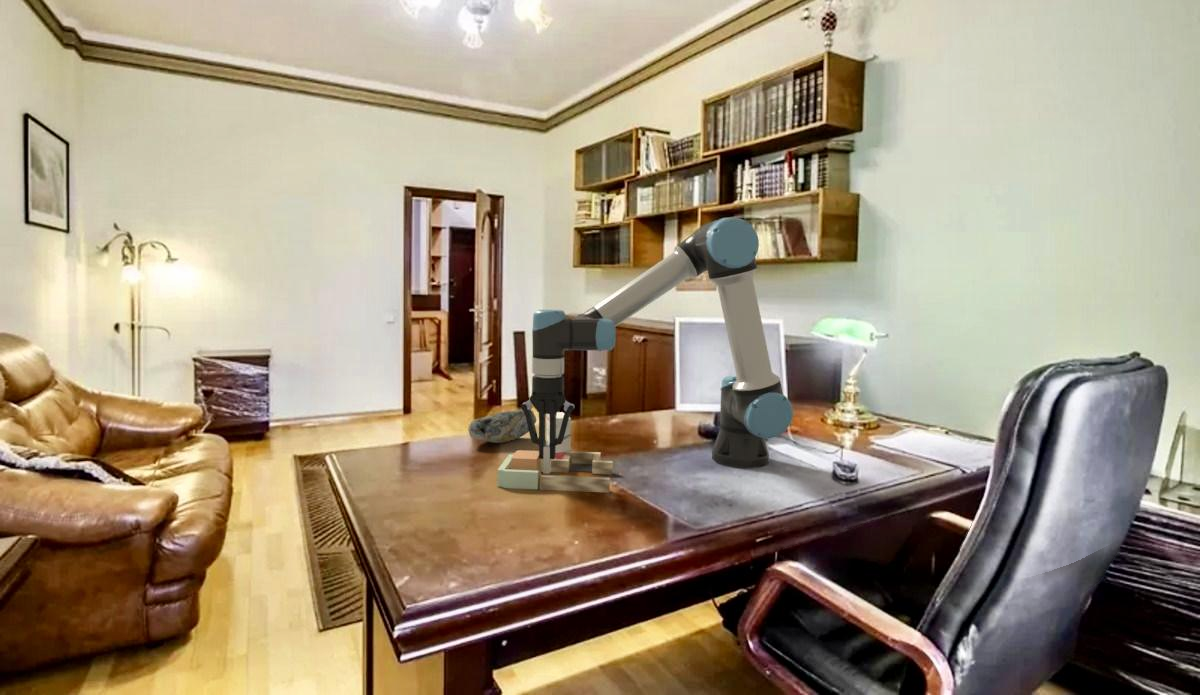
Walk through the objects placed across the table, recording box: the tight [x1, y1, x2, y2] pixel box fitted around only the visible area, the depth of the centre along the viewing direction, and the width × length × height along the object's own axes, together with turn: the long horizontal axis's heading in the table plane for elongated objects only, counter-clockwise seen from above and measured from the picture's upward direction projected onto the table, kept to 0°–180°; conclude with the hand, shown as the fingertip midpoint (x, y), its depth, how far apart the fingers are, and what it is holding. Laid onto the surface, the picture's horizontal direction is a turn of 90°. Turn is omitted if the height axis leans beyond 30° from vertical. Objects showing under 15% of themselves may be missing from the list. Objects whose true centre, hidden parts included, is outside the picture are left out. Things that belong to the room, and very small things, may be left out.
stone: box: [467, 408, 537, 444], centre depth 189 cm, size 11×21×10 cm, turn 119°
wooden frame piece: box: [539, 450, 614, 494], centre depth 160 cm, size 16×22×3 cm
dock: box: [496, 453, 543, 490], centre depth 157 cm, size 10×15×4 cm, turn 176°
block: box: [511, 449, 542, 479], centre depth 156 cm, size 6×7×6 cm
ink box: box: [545, 411, 572, 459], centre depth 175 cm, size 9×5×12 cm, turn 18°
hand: (547, 471), depth 156 cm, fingers closed
